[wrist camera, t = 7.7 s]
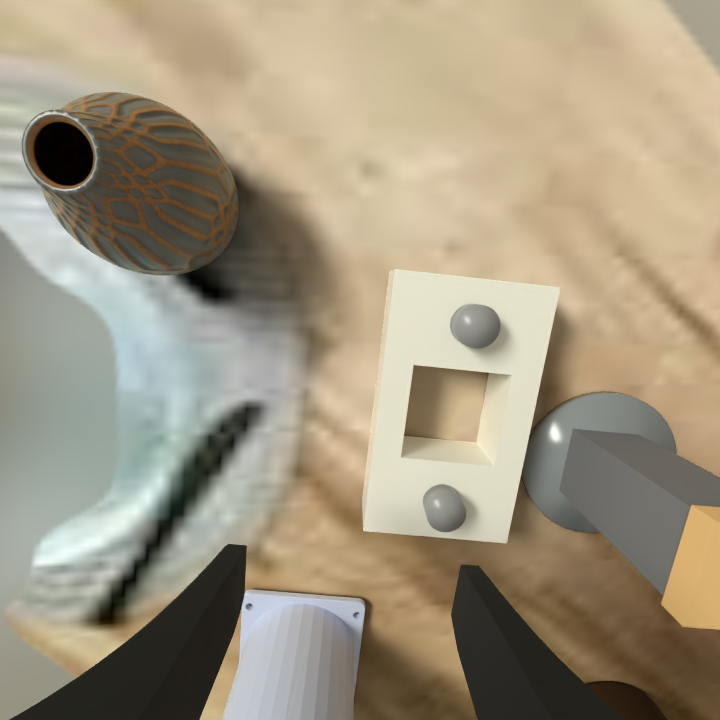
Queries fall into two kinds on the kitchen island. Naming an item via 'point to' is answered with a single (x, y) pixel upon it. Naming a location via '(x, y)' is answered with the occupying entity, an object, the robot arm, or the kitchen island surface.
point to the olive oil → (627, 701)
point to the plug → (652, 516)
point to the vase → (134, 182)
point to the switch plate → (499, 414)
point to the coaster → (554, 440)
